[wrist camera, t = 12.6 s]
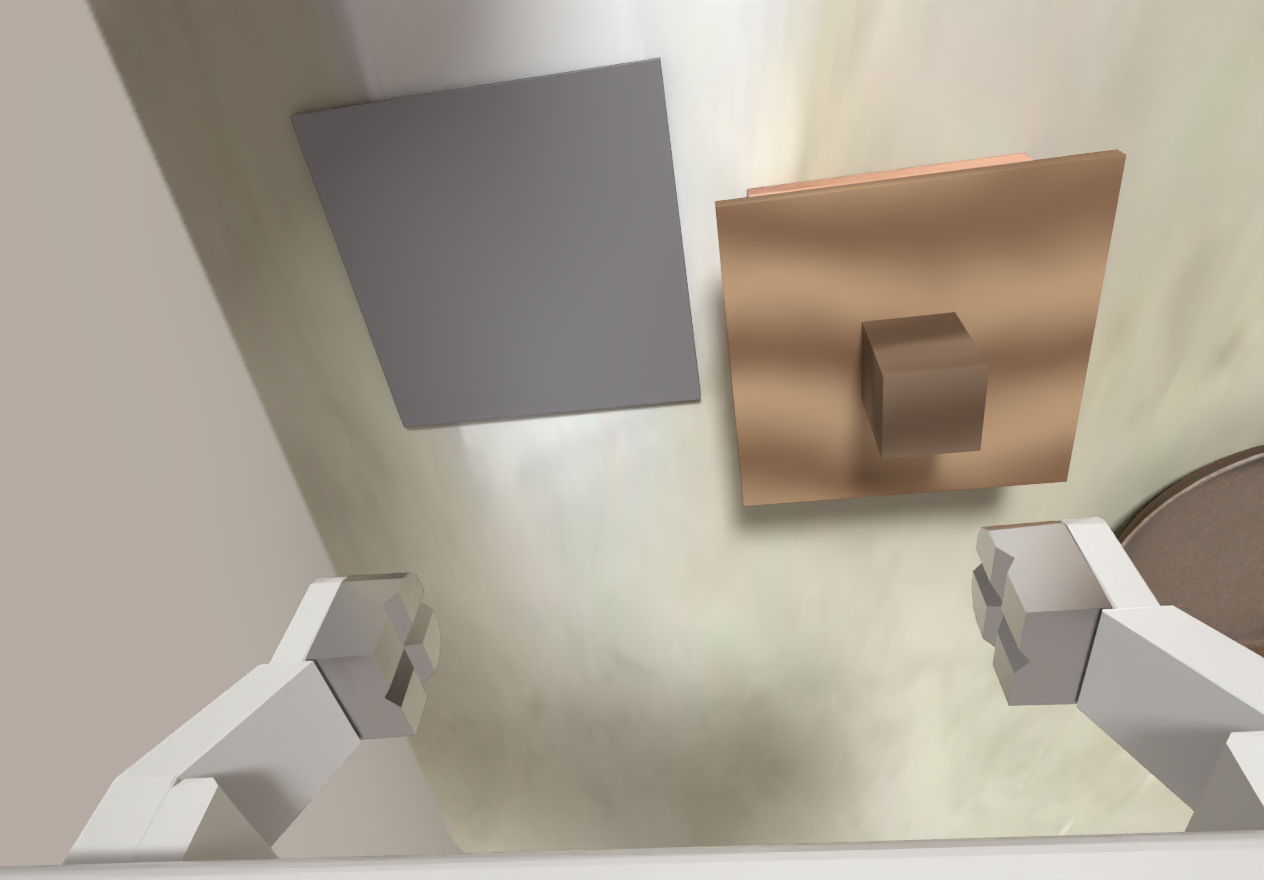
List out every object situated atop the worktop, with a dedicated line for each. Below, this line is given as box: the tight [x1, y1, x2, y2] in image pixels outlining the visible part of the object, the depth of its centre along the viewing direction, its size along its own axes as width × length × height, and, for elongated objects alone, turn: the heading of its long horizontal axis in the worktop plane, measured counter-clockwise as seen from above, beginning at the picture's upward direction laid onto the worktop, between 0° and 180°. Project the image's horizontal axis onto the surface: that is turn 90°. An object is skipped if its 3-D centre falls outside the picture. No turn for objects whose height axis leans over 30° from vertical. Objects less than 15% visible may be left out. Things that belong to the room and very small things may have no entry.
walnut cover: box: [715, 150, 1126, 506], centre depth 35 cm, size 16×16×6 cm
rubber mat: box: [290, 58, 701, 427], centre depth 43 cm, size 18×18×1 cm
